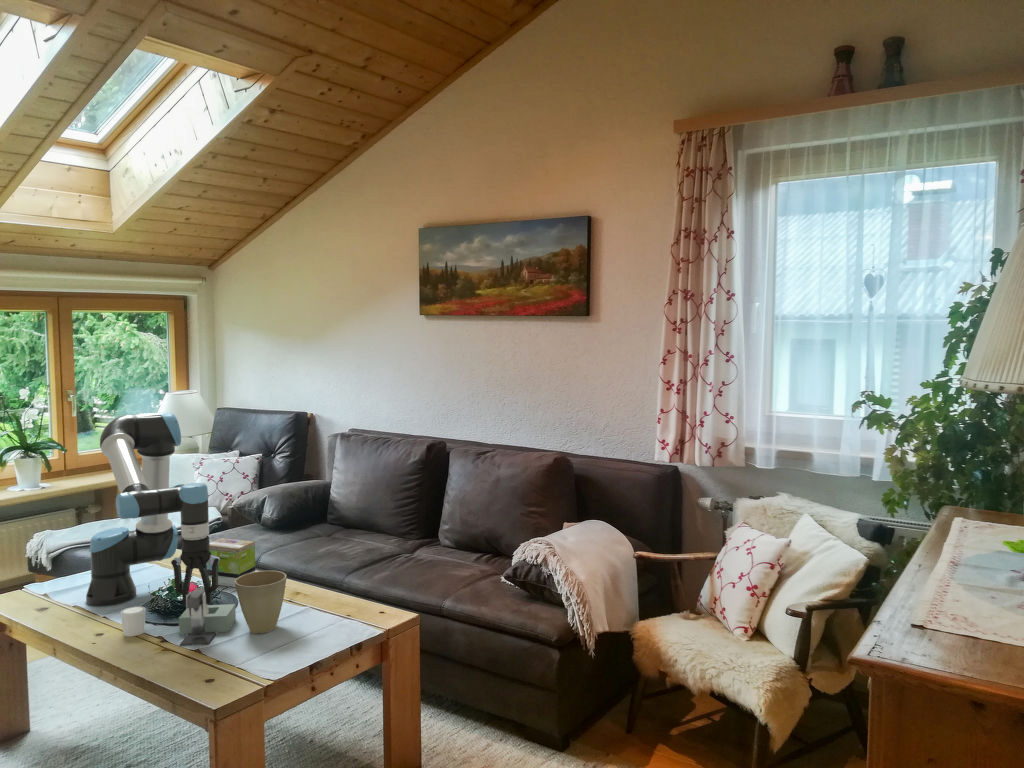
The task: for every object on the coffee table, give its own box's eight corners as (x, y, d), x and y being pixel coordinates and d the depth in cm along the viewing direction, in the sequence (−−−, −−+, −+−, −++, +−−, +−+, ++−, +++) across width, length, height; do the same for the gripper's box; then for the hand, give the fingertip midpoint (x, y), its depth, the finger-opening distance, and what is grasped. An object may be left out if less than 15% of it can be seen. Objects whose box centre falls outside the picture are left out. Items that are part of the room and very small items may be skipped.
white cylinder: (115, 635, 224) (115, 612, 224) (134, 627, 231) (133, 604, 230) (133, 638, 222) (132, 615, 221) (151, 629, 228) (151, 607, 228)
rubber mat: (179, 645, 216) (179, 643, 216) (188, 635, 224) (188, 633, 224) (208, 644, 217) (208, 642, 217) (216, 633, 225) (216, 631, 225)
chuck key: (195, 627, 225) (194, 587, 224) (209, 626, 225) (208, 587, 224) (186, 638, 216) (185, 598, 215) (200, 638, 216) (199, 597, 216)
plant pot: (261, 617, 239) (260, 567, 238) (297, 624, 232) (296, 574, 231) (225, 633, 225) (223, 581, 224) (262, 642, 219) (261, 588, 218)
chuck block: (179, 634, 225) (178, 617, 225) (189, 621, 235) (189, 606, 234) (227, 631, 226) (226, 615, 226) (235, 619, 236) (235, 604, 236)
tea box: (203, 584, 270) (202, 544, 269) (222, 576, 280) (221, 537, 279) (239, 588, 266) (238, 547, 265) (256, 579, 275) (255, 540, 275)
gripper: (160, 541, 214) (163, 621, 216) (222, 539, 216) (224, 618, 218) (169, 534, 222) (171, 611, 223) (228, 532, 224) (230, 609, 225)
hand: (197, 614), depth 220 cm, fingers closed on chuck key, 4 cm apart
